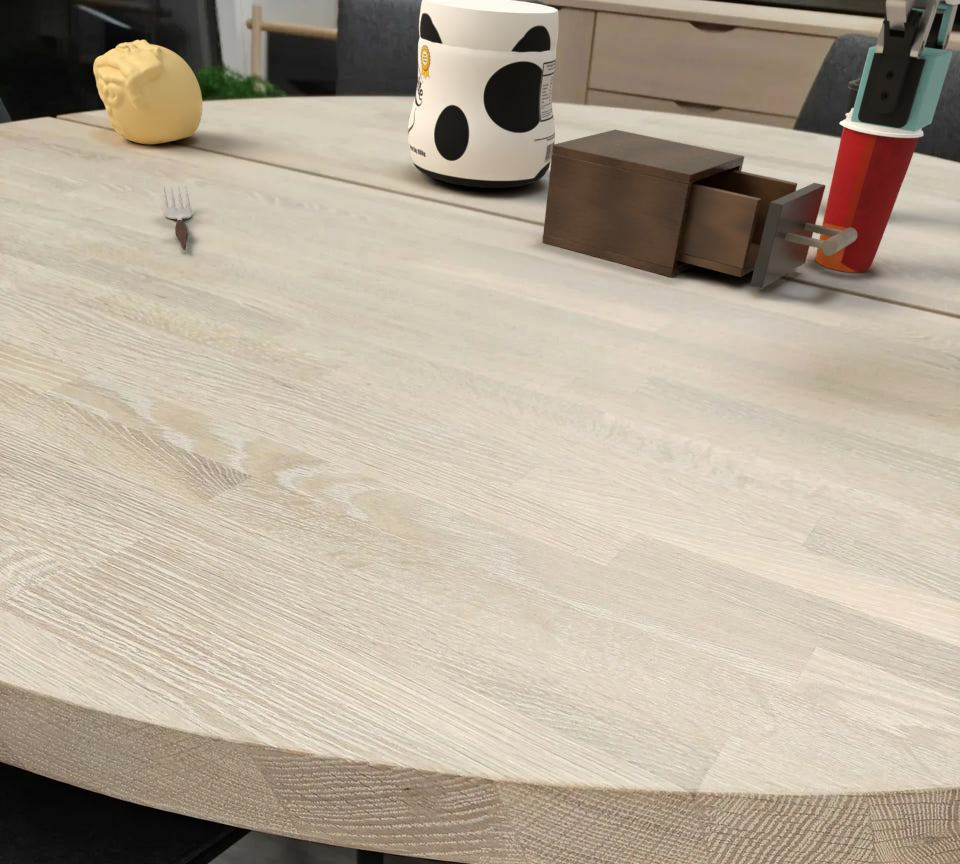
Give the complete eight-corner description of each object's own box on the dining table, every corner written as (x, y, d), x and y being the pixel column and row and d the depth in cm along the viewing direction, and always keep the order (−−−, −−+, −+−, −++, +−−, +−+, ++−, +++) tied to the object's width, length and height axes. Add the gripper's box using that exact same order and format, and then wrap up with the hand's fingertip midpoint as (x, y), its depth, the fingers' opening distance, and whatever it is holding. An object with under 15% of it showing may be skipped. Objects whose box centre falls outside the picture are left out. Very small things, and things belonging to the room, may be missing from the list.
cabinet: (724, 251, 103) (744, 156, 98) (671, 277, 95) (690, 174, 89) (602, 220, 110) (615, 129, 104) (542, 242, 101) (552, 144, 95)
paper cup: (884, 262, 105) (931, 114, 96) (875, 281, 99) (924, 125, 90) (810, 247, 107) (849, 102, 98) (797, 265, 101) (837, 112, 93)
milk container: (388, 163, 124) (391, -9, 113) (516, 162, 129) (531, -2, 118) (434, 200, 111) (442, 10, 100) (573, 197, 117) (595, 18, 106)
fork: (170, 255, 89) (167, 232, 88) (163, 207, 101) (161, 186, 100) (200, 255, 90) (198, 232, 88) (190, 207, 102) (188, 186, 100)
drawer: (853, 275, 97) (876, 195, 92) (813, 302, 89) (837, 217, 85) (682, 233, 104) (696, 157, 100) (632, 254, 97) (645, 174, 92)
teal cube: (868, 113, 71) (887, 42, 68) (931, 123, 69) (953, 51, 66) (849, 121, 68) (868, 47, 65) (914, 132, 66) (936, 56, 63)
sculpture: (88, 133, 124) (73, 33, 117) (176, 127, 131) (166, 31, 124) (132, 153, 118) (119, 48, 111) (222, 145, 124) (214, 45, 118)
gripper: (1032, -250, 50) (914, 147, 61) (1083, -215, 61) (975, 113, 73) (884, -251, 53) (797, 126, 64) (958, -218, 65) (873, 98, 76)
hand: (892, 116), depth 68 cm, fingers closed on teal cube, 4 cm apart
